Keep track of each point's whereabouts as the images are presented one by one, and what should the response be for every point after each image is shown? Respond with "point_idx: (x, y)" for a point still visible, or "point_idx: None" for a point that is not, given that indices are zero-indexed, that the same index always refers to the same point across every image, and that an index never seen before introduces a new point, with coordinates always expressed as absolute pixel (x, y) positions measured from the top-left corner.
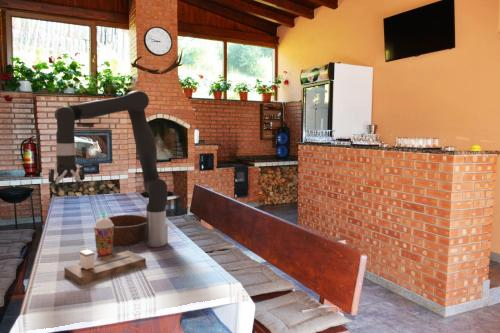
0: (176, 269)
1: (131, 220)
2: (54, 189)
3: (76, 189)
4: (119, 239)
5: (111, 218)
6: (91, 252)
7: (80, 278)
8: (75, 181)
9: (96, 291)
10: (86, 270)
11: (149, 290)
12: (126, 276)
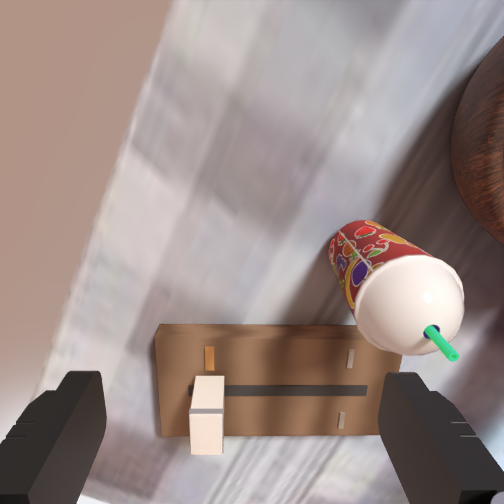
0: None
1: None
2: (27, 425)
3: (386, 396)
4: (474, 217)
5: None
6: (215, 449)
7: (162, 433)
8: (466, 490)
9: (181, 468)
10: None
11: None
12: (287, 443)
